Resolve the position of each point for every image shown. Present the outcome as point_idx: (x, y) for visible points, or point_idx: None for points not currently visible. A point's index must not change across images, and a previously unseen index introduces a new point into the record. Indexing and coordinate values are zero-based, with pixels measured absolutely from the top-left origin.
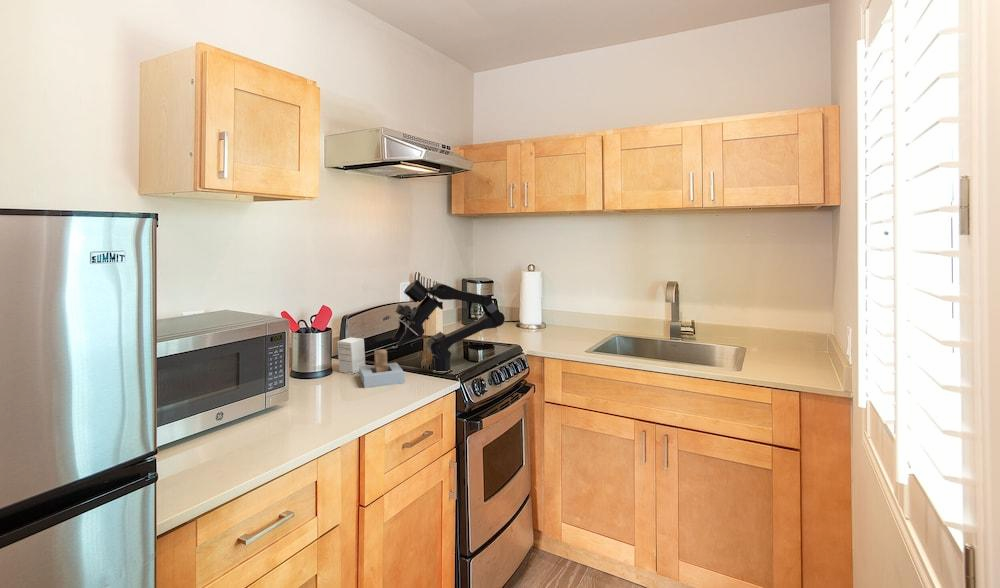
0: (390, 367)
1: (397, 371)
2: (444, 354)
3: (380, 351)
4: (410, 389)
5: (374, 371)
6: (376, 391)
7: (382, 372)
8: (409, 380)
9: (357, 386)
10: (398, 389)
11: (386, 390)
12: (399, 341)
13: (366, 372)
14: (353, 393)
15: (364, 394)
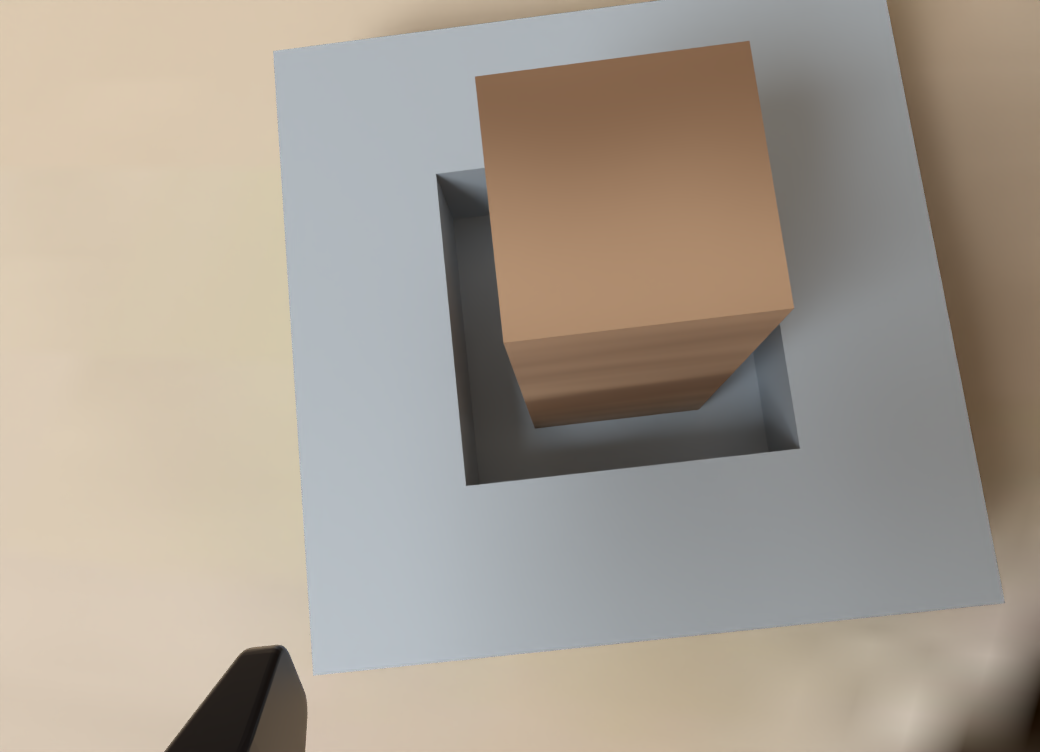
0: (682, 466)
1: (385, 566)
2: None
3: (557, 187)
4: (34, 701)
5: None
6: (136, 264)
7: (419, 320)
8: (445, 739)
9: None
10: (101, 540)
11: (124, 386)
12: (180, 739)
13: None
14: (173, 9)
15: (84, 127)
